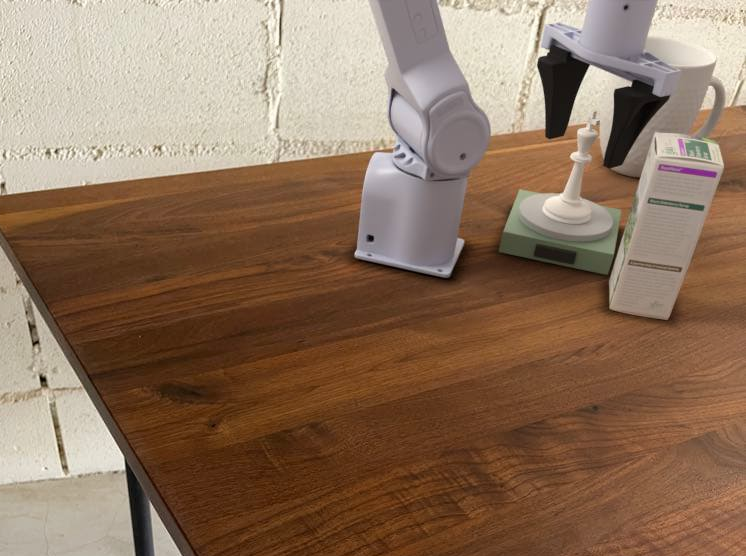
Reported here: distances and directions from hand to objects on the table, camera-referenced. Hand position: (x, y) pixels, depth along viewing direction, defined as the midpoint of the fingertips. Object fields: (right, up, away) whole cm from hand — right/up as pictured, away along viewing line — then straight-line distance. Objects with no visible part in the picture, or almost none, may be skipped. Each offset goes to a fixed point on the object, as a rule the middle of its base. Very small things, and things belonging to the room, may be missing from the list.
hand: (582, 150), depth 86 cm
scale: (-1, -6, +6) cm, 9 cm away
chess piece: (0, -5, +5) cm, 6 cm away
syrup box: (+5, -15, -1) cm, 16 cm away
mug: (+13, +8, +22) cm, 27 cm away
